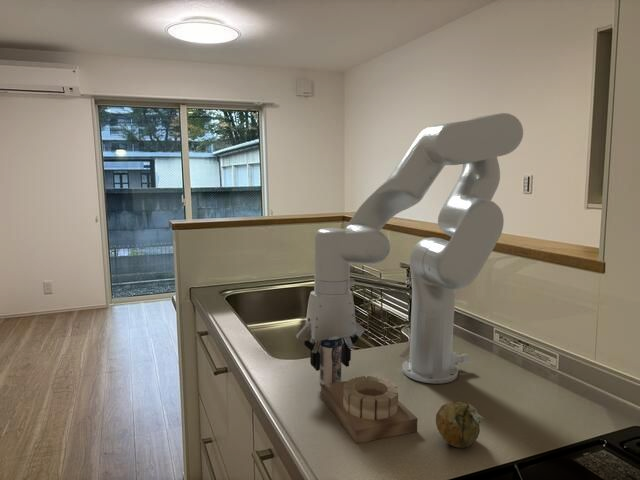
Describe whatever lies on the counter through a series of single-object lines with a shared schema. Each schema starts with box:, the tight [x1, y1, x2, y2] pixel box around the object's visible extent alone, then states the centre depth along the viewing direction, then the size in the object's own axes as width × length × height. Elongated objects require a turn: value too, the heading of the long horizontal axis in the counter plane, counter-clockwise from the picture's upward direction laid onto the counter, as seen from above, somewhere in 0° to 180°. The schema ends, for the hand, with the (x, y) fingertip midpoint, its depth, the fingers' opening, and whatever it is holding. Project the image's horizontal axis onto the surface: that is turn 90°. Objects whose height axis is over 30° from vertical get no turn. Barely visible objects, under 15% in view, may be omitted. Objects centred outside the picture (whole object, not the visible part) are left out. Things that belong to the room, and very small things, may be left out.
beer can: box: [319, 336, 343, 385], centre depth 103 cm, size 5×5×12 cm
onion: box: [435, 401, 485, 449], centre depth 82 cm, size 8×8×8 cm
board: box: [320, 375, 419, 444], centre depth 91 cm, size 12×18×6 cm, turn 20°
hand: (330, 365), depth 104 cm, fingers open, 6 cm apart
